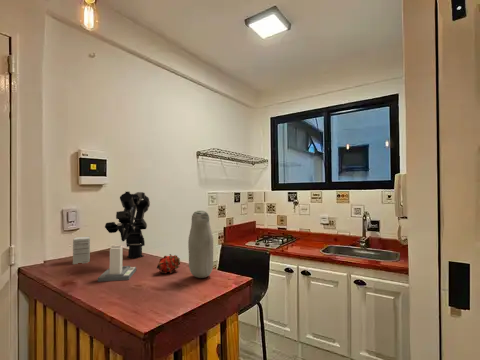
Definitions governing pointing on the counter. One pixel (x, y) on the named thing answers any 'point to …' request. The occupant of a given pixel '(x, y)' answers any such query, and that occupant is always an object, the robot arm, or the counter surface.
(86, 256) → the grey ridged block
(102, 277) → the docking station
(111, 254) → the cream tall block
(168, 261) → the dragon fruit
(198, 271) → the grey bottle
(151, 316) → the counter surface
